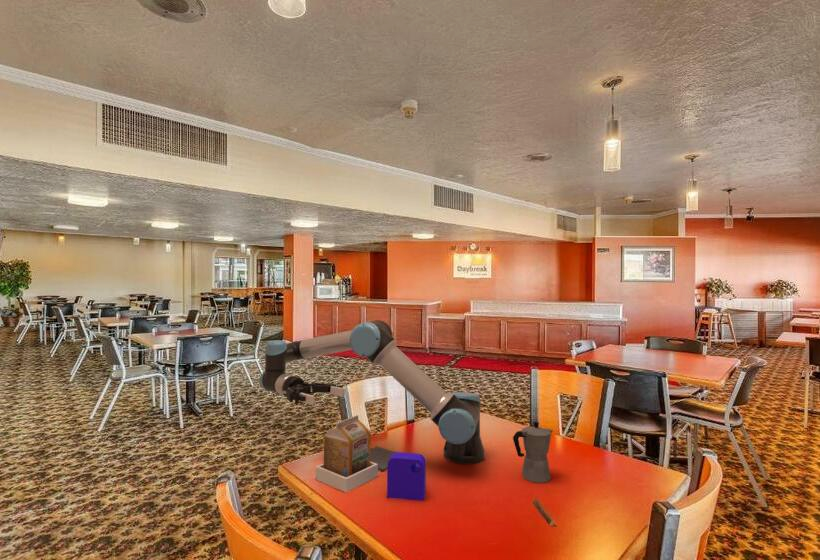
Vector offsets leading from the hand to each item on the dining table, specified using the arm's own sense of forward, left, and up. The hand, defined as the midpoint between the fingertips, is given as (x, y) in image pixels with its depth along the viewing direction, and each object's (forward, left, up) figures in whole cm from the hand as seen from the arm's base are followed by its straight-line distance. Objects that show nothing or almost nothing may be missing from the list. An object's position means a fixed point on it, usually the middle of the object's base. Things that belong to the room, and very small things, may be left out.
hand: (329, 396), depth 142 cm
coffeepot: (-56, -39, -25) cm, 73 cm away
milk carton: (-9, 0, -25) cm, 27 cm away
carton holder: (-9, 0, -25) cm, 26 cm away
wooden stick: (-67, -19, -25) cm, 74 cm away
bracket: (-28, -9, -25) cm, 39 cm away
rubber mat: (-7, -18, -25) cm, 31 cm away
